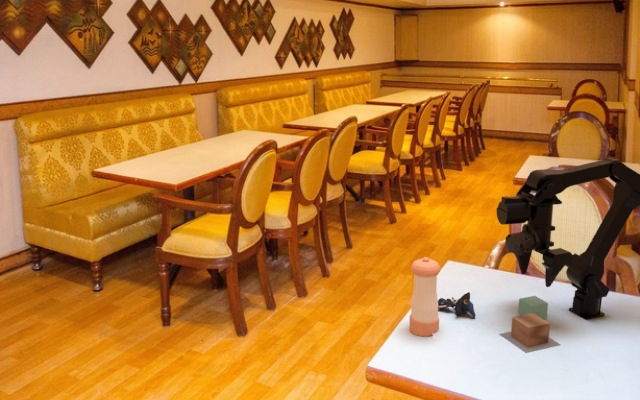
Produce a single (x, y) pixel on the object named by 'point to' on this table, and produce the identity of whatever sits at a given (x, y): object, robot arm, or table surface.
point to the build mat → (533, 348)
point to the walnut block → (530, 329)
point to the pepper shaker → (424, 298)
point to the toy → (458, 305)
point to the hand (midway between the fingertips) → (535, 280)
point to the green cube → (533, 306)
